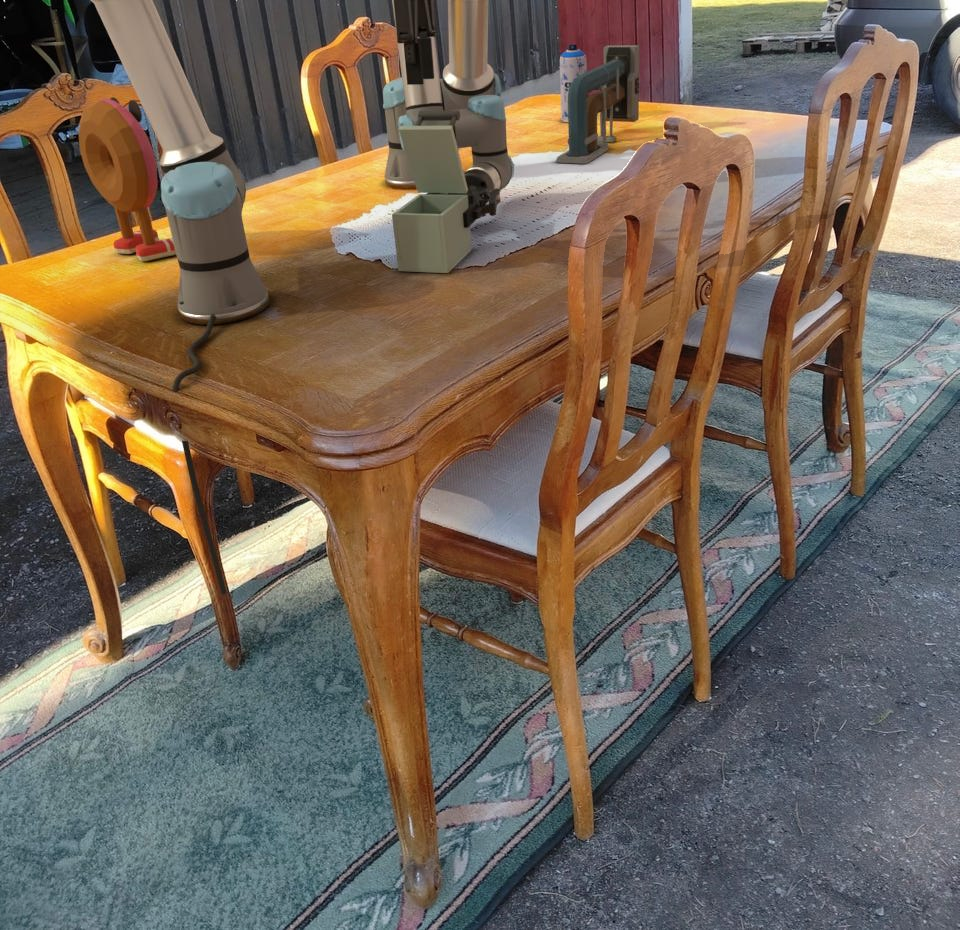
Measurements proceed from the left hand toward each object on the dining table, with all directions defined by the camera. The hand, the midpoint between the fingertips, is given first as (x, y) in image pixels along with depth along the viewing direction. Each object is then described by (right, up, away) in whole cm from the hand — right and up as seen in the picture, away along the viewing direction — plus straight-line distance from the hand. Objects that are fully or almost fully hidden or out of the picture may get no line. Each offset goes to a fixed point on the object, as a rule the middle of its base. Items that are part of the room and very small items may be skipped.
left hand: (420, 81), depth 166 cm
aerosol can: (+37, +33, +112) cm, 122 cm away
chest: (+2, -28, +14) cm, 31 cm away
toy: (-58, -23, +32) cm, 69 cm away
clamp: (+40, +16, +81) cm, 92 cm away
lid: (+2, -12, +8) cm, 14 cm away
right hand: (+2, -21, +13) cm, 24 cm away
